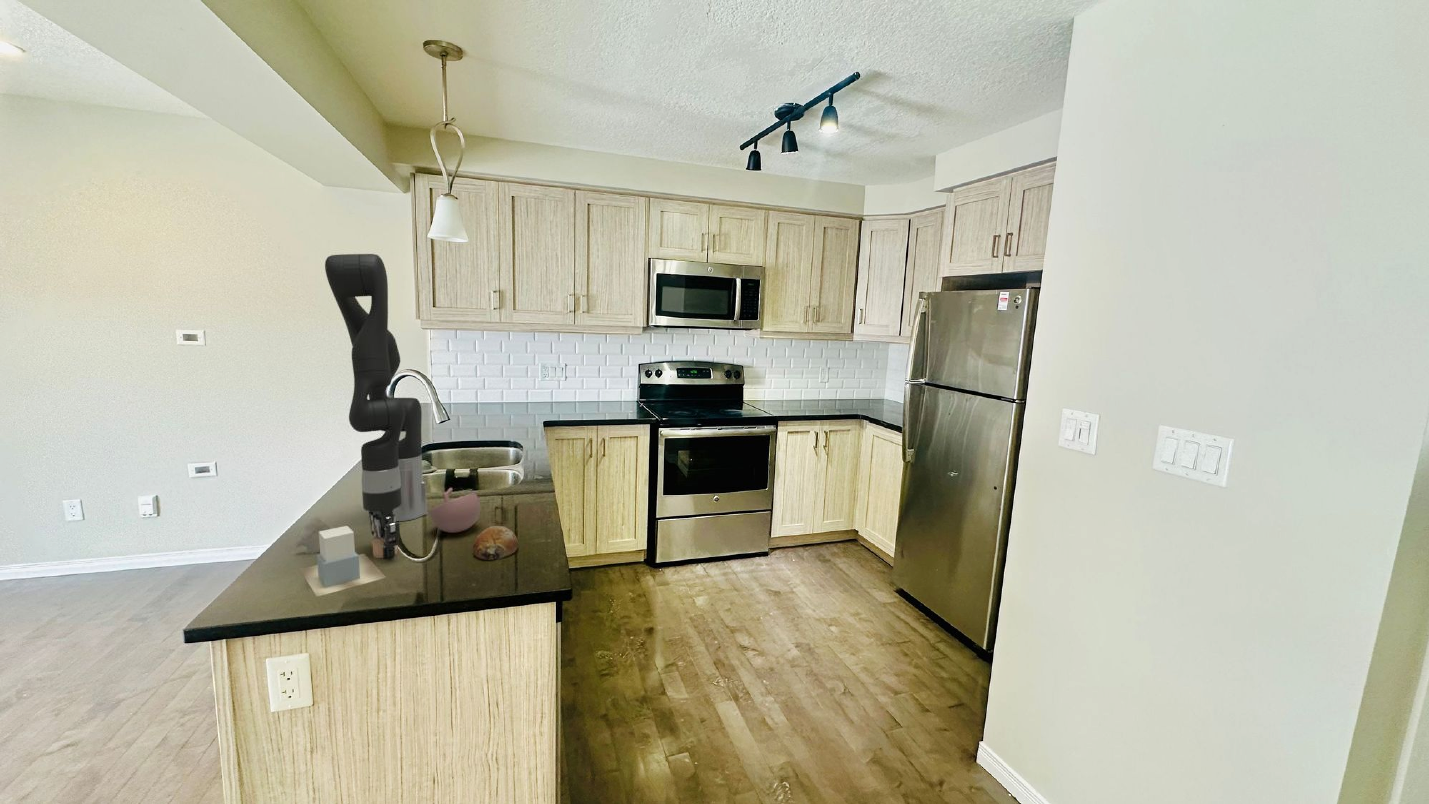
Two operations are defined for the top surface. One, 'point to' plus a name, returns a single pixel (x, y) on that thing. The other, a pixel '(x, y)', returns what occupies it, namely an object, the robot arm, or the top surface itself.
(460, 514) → the mortar and pestle
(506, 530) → the bread roll
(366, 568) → the board
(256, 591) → the top surface
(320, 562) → the tower lower
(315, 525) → the arrowhead
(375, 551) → the peach cylinder
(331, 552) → the tower upper
